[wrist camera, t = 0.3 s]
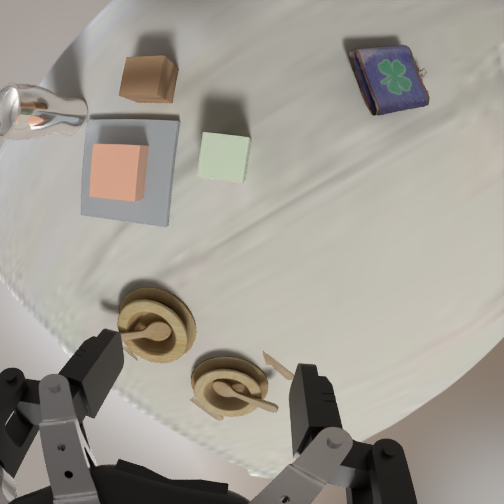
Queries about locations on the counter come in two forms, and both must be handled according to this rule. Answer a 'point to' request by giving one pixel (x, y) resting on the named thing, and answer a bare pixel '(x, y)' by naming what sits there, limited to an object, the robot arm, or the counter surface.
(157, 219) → the plate
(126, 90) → the block
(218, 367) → the tableware set
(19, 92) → the beer glass
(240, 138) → the block
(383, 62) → the purple clover wallet
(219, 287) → the counter surface
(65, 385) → the robot arm
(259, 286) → the counter surface
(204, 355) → the counter surface
